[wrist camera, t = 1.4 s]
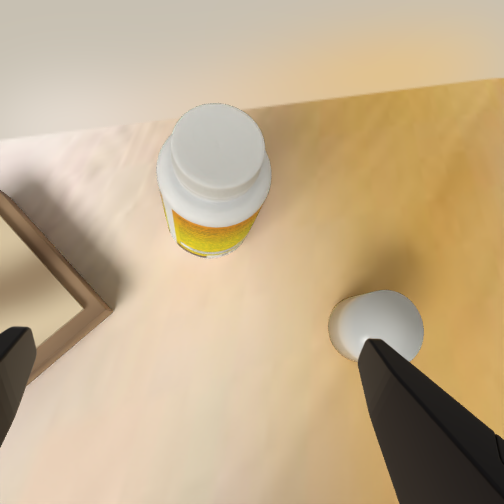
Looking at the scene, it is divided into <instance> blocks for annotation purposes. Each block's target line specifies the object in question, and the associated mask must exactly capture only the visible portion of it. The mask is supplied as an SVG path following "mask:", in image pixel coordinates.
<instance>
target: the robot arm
mask: <svg viewBox="0 0 504 504" xmlns="http://www.w3.org/2000/svg"><path fill="white" fill-rule="evenodd" d="M36 355H37V349H36V345H35V341H34V337H33V333H32V330H31V328H29V327H23V326H13V327H10V328H8V329H6V330H5V331H3V332H2V333H0V447H1V445H2V443H3V441H4V439H5V437H6V435H7V433H8V431H9V429H10V427H11V424H12V422H13V420H14V418H15V415H16V413H17V410H18V407H19V405H20V402H21V399H22V396H23V393H24V391H25V388H26V385H27V382H28V379H29V376H30V374H31V371H32V368H33V365H34V362H35V359H36ZM358 368H359V372H360V377H361V381H362V385H363V390H364V394H365V398H366V403H367V407H368V411H369V415H370V418H371V421H372V425H373V428H374V431H375V433H376V436H377V439H378V442H379V445H380V448H381V451H382V454H383V457H384V460H385V463H386V466H387V469H388V471H389V474H390V477H391V480H392V483H393V486H394V489H395V492H396V495H397V498H398V501H399V504H504V440H503V439H502V438H501V437H500V436H499V435H497V434H495V433H494V431H492V430H491V429H490V428H489V427H488V426H486V425H485V424H484V423H483V422H481V421H480V420H479V419H478V418H477V417H475V416H474V415H473V414H472V413H471V412H469V411H468V410H467V409H466V408H465V407H463V406H462V405H461V404H460V403H458V402H457V401H456V400H455V399H454V398H452V397H451V396H450V395H449V394H448V393H446V392H445V391H444V390H443V389H442V388H440V387H439V386H438V385H437V384H435V383H434V382H433V381H432V380H431V379H429V378H428V377H427V376H426V375H425V374H423V373H422V372H421V371H420V370H419V369H417V368H416V367H415V366H414V365H412V364H411V363H410V362H409V361H408V360H406V359H405V358H404V357H403V356H402V355H400V354H399V353H398V352H397V351H396V350H394V349H393V348H392V347H391V346H389V345H388V344H387V343H386V342H385V341H383V340H382V339H374V338H369V339H367V340H366V341H365V343H364V345H363V348H362V350H361V352H360V355H359V358H358Z"/></svg>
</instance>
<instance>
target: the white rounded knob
mask: <svg viewBox="0 0 504 504" xmlns="http://www.w3.org/2000/svg"><path fill="white" fill-rule="evenodd" d="M328 332H329V337H330V340H331V342H332V344H333V346H334V347H335V349H336V350H337V351H338V352H339V353H340V354H341V355H342V356H344V357H345V358H347V359H349V360H352V361H356V362H358V358H359V355H360V352H361V350H362V348H363V345H364V343H365V341H366V340H367V339H369V338H374V339H382V340H383V341H385V342H386V343H387V344H388V345H389V346H391V347H392V348H393V349H394V350H396V351H397V352H398V353H399V354H400V355H402V356H403V357H404V358H405V359H406V360H408V361H409V362H410V361H411V360H412V359H413V358H414V357H415V356H416V355H417V353H418V352H419V350H420V348H421V345H422V342H423V336H424V328H423V322H422V318H421V316H420V314H419V312H418V310H417V308H416V307H415V305H414V304H413V303H412V302H411V301H410V300H409V299H408V298H407V297H405V296H404V295H402V294H400V293H398V292H395V291H391V290H379V291H375V292H370V293H366V294H362V295H358V296H354V297H350V298H347V299H344V300H342V301H341V302H339V303H338V304H337V305H336V306H335V307H334V309H333V310H332V312H331V315H330V318H329V322H328Z"/></svg>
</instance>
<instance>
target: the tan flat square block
mask: <svg viewBox="0 0 504 504" xmlns="http://www.w3.org/2000/svg"><path fill="white" fill-rule="evenodd" d="M111 313H113V311H112V310H111V309H110V308H109V306H108V305H107V304H106V303H105V302H104V301H103V300H102V299H101V298H100V297H99V295H98V294H97V293H96V292H95V291H94V290H93V289H92V288H91V287H90V285H89V284H88V283H87V282H86V281H85V280H84V279H83V278H82V277H81V275H80V274H79V273H78V272H77V271H76V270H75V269H74V268H73V267H72V266H71V264H70V263H69V262H68V261H67V260H66V259H65V258H64V257H63V256H62V254H61V253H60V252H59V251H58V250H57V249H56V248H55V247H54V246H53V244H52V243H51V242H50V241H49V240H48V239H47V238H46V237H45V236H44V234H43V233H42V232H41V231H40V230H39V229H38V228H37V227H36V226H35V225H34V223H33V222H32V221H31V220H30V219H29V218H28V217H27V216H26V215H25V213H24V212H23V211H22V210H21V209H20V208H19V207H18V206H17V205H16V203H15V202H14V201H13V200H12V199H11V198H10V197H9V196H8V195H6V194H5V193H4V192H2V191H1V190H0V333H2V332H3V331H5V330H6V329H8V328H10V327H13V326H23V327H29V328H31V330H32V333H33V337H34V341H35V345H36V349H37V355H36V359H35V362H34V365H33V368H32V371H31V374H30V376H29V379H28V382H27V385H28V384H29V383H30V382H32V381H33V380H34V379H35V378H36V377H37V376H39V375H40V374H41V373H42V372H43V371H45V370H46V369H47V368H48V367H49V366H50V365H52V364H53V363H54V362H55V361H56V360H57V359H59V358H60V357H61V356H62V355H63V354H64V353H66V352H67V351H68V350H69V349H70V348H71V347H73V346H74V345H75V344H76V343H77V342H79V341H80V340H81V339H82V338H83V337H84V336H86V335H87V334H88V333H89V332H90V331H91V330H93V329H94V328H95V327H96V326H97V325H98V324H100V323H101V322H102V321H103V320H104V319H106V318H107V317H108V316H109V315H110V314H111ZM27 385H26V386H27Z"/></svg>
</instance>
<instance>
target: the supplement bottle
mask: <svg viewBox="0 0 504 504" xmlns="http://www.w3.org/2000/svg"><path fill="white" fill-rule="evenodd" d="M156 172H157V182H158V186H159V191H160V195H161V199H162V203H163V208H164V212H165V216H166V220H167V224H168V228H169V231H170V233H171V235H172V237H173V239H174V240H175V242H176V243H177V244H178V245H179V246H180V247H181V248H182V249H183V250H185V251H186V252H188V253H190V254H192V255H194V256H197V257H200V258H209V259H211V258H219V257H222V256H225V255H228V254H229V253H231V252H233V251H234V250H236V249H237V248H238V247H239V246H240V245H241V244H242V242H243V241H244V239H245V238H246V236H247V234H248V232H249V230H250V228H251V226H252V224H253V223H254V221H255V219H256V217H257V215H258V213H259V211H260V209H261V207H262V205H263V203H264V201H265V199H266V197H267V195H268V192H269V189H270V185H271V165H270V161H269V158H268V155H267V153H266V151H265V142H264V138H263V135H262V133H261V130H260V128H259V127H258V125H257V124H256V123H255V121H254V120H253V119H252V118H251V117H250V116H249V115H247V114H246V113H245V112H243V111H242V110H240V109H238V108H236V107H233V106H230V105H226V104H221V103H210V104H204V105H200V106H197V107H195V108H193V109H191V110H189V111H188V112H187V113H185V114H184V115H183V116H182V117H181V118H180V119H179V121H178V122H177V124H176V125H175V127H174V130H173V133H172V134H171V135H170V136H169V138H168V139H167V140H166V141H165V143H164V144H163V146H162V148H161V150H160V153H159V156H158V160H157V167H156Z"/></svg>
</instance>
